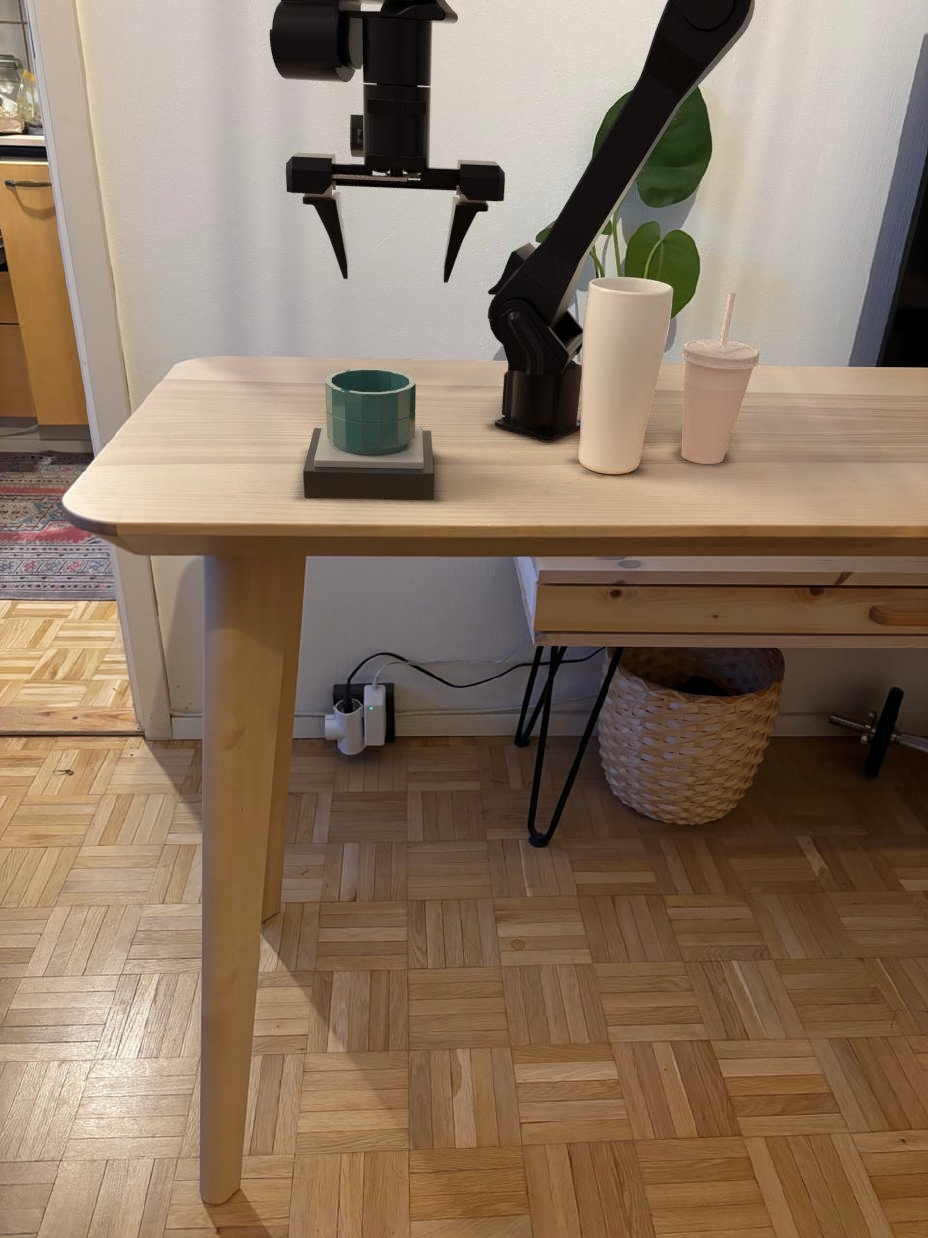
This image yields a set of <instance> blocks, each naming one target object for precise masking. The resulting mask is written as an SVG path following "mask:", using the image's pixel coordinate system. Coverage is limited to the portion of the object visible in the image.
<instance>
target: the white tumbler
mask: <svg viewBox="0 0 928 1238" xmlns="http://www.w3.org/2000/svg"><path fill="white" fill-rule="evenodd" d="M587 287H588V288H587V292H586V298H585V307H584V314H583V324H582V328H583V338H582V348H581V365H582V378H581V387H580V429H579V442H578V451H577V457H578V461H579V463H580V464H581V466H583V467H584V468H586V469H588V470H590V471H592V472H595V473H599V474H606V475H621V474H622V475H623V474H627V473H630V472H633V471H635V470H636V469H637V468H638V467H639V465H640V464H641V458H642V452H643V445H644V440H645V435H646V432H647V431H646V430H647V428H648V427H647V426H648V423H649V419H650V413H651V409H652V405H653V401H654V396H655V392H656V388H657V384H658V379H659V376H660V371H661V367H662V363H663V359H664V354H665V350H666V346H667V342H668V341H667V340H668V334H669V328H670V324H671V323H670V322H671V316H672V315H671V313H672V305H673V297H674V296H673V295H674V288H673V286H671V285H670V284H668V283H666V282H662V281H658V280H654V279H649V278H641V277H631V276H630V277H629V276H606V277H605V276H603V277H599V278H593V279H592V280H590V281H589V282H588V286H587Z"/></svg>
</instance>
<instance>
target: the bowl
mask: <svg viewBox="0 0 928 1238" xmlns="http://www.w3.org/2000/svg"><path fill="white" fill-rule="evenodd" d="M324 388H325V392H324V393H325V421H326V424H327V438H328V439H330V440H331V441H332V442H333V443H334V445H335V446H336V447H337V448H339V449H341V450H343V451H346V452H349V453H354V454H360V455H384V454H390V453H395V452H398V451H401V450H403V449H404V448H406V447H407V446H408V444H409V443H410V442H411V441H412V440H413V439H414V438H415V426H416V410H417V409H416V402H417V399H416V398H417V383H416V379H415V378H414V377H412V376H411V375H409V374H407V373H405V372H401V371H397V370H392V369H385V368H367V367H365V368H363V367H362V368H361V367H359V368H351V369H343V370H340V371H336V372H332V373H331V374H329V375H328V376H326V377H325V379H324Z"/></svg>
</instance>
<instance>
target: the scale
mask: <svg viewBox="0 0 928 1238" xmlns="http://www.w3.org/2000/svg"><path fill="white" fill-rule="evenodd" d="M432 439H433V437H432V430H427V429H426V430H425V429H424V430H423V426H419V425H418V426H416V425H415V438H414V439H413V440H412V441H411V442H410V443H409V444H408V446H407V447H406V448H404V449H403V450H401V451H398V452H395V453H390V454H384V455H360V454H354V453H349V452H346V451H343V450H341V449H339V448H337V447H336V446H335V445H334V443H333V442H332V441H331V440H330V439H328V438H327V423H326V424H325V423H324V424H322V425H321V427H314V428H313V430H312V435H311V438H310V442H309V446H308V451H307V455H306V459H305V463H304V466H303V470H302V481H303V497H304V498H318V499H319V498H323V499H373V500H374V499H377V500H378V499H382V500H384V499H385V500H434V497H435V496H434V494H435V467H434V466H435V465H434V452H433V440H432Z"/></svg>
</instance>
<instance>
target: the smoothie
mask: <svg viewBox="0 0 928 1238" xmlns="http://www.w3.org/2000/svg"><path fill="white" fill-rule="evenodd" d="M735 298H736V293H735V292H728V294H727V301H726V306H725V312H724V318H723V322H722V328H721V334H720V339H718V338H717V339H716V338H699V339H692V340H689V341H686V342H685V343H684V345H683V349H682V353H681V358H683V360H684V377H683V379H684V381H683V403H682V404H683V405H682V406H683V407H682V430H681V431H682V433H681V453H680V454H681V457H682V458H683V459H684V460H687V461H688V462H692V463H696V464H700V465H701V464H702V465H716V464H720V463H722V462H723V461H724V460H725V459H724V458H725V455H726V452H727V449H728V447H729V443H730V440H731V437H732V435H733V431H734V428H735V424H736V422H737V418H738V415H739V412H740V409H741V406H742V403H743V401H744V397H745V395H746V393H747V389H748V386H749V383H750V379H751V376H752V373H753V370H754V368H756V367H758V365H759V358H760V354H761V353H760V350H759V349H758V348H757V347H754V346H753V345H751V344H748V343H747V344H746V343H743V342H739V341H733V340H728V337H729V332H730V326H731V321H732V315H733V311H734V305H735V300H736V299H735Z"/></svg>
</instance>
